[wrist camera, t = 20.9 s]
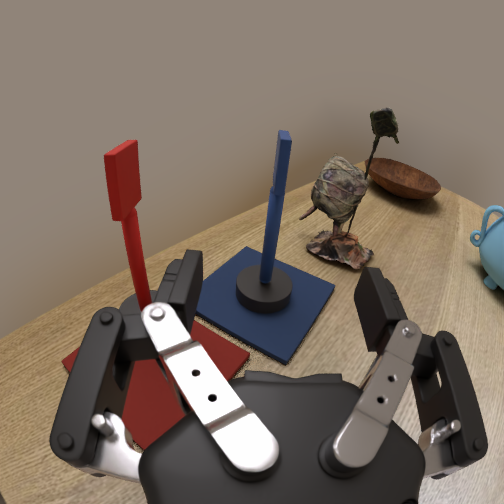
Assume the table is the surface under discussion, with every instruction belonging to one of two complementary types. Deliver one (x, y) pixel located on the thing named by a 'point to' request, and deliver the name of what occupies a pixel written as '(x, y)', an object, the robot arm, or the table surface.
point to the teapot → (491, 248)
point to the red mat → (157, 390)
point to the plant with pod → (346, 198)
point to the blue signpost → (269, 247)
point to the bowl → (402, 179)
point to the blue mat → (258, 324)
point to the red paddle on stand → (128, 218)
